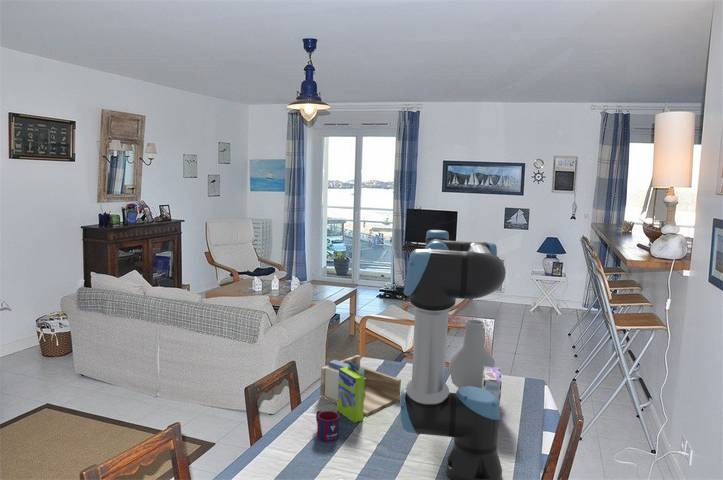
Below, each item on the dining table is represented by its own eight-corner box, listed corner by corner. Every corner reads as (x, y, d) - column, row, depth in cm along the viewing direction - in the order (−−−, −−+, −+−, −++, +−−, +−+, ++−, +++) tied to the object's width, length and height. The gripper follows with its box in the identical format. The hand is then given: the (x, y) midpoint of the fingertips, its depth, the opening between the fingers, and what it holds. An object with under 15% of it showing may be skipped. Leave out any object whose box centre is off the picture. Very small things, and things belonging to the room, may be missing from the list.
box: (336, 411, 189) (338, 362, 187) (346, 408, 192) (348, 360, 190) (354, 423, 181) (355, 372, 179) (364, 420, 183) (366, 370, 181)
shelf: (367, 415, 187) (368, 384, 185) (320, 396, 201) (321, 367, 199) (402, 398, 202) (403, 369, 201) (356, 382, 216) (357, 354, 215)
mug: (322, 443, 167) (323, 422, 166) (309, 429, 176) (309, 408, 175) (342, 439, 170) (343, 418, 169) (328, 425, 179) (329, 405, 178)
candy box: (498, 429, 180) (502, 381, 178) (480, 427, 181) (483, 379, 179) (497, 412, 194) (500, 366, 192) (479, 409, 195) (482, 364, 193)
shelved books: (342, 402, 194) (343, 369, 193) (324, 395, 200) (325, 363, 198) (352, 398, 198) (353, 365, 197) (333, 391, 204) (334, 359, 202)
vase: (445, 400, 202) (449, 325, 198) (449, 383, 218) (453, 314, 214) (492, 406, 198) (498, 330, 194) (493, 389, 214) (498, 318, 210)
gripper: (449, 284, 174) (445, 349, 177) (444, 270, 199) (440, 327, 201) (425, 283, 174) (421, 348, 177) (423, 269, 199) (420, 326, 202)
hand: (431, 337), depth 189 cm, fingers open, 13 cm apart
